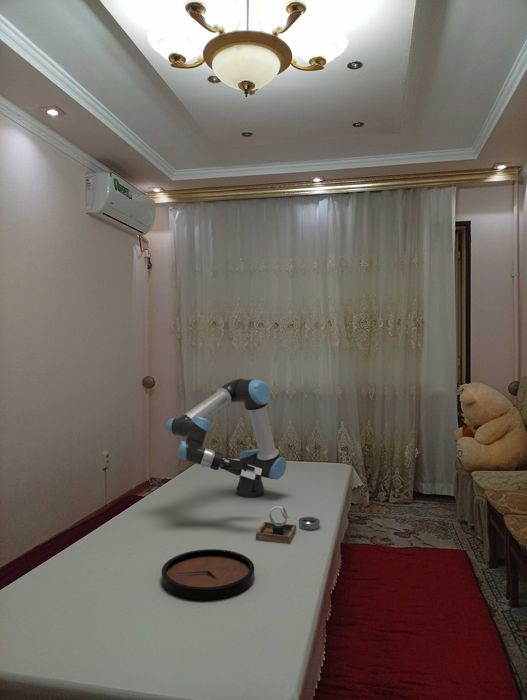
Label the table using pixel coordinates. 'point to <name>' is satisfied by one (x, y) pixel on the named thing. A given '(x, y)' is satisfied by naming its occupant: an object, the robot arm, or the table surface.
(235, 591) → the wall clock
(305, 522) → the round socket
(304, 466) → the table surface
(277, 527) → the watch
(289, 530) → the rect wooden tray
